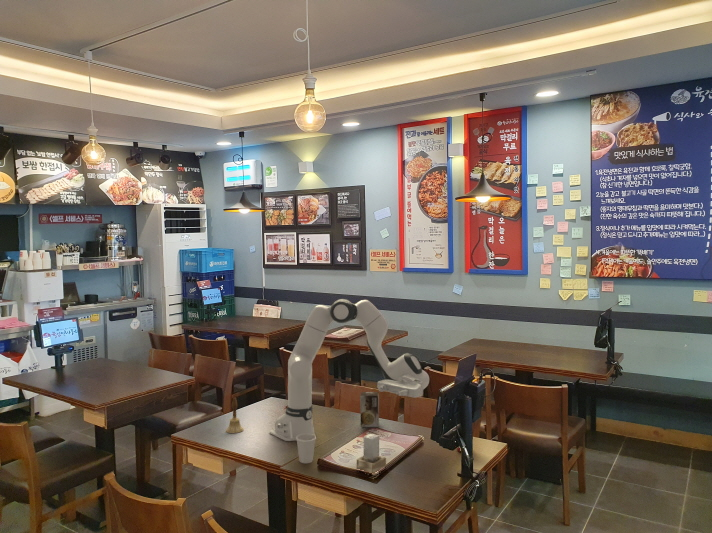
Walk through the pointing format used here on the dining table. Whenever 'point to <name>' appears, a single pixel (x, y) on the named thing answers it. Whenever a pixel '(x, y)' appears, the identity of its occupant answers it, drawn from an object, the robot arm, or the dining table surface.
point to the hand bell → (234, 420)
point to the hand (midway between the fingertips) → (389, 391)
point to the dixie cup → (306, 447)
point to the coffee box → (369, 409)
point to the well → (371, 464)
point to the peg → (371, 448)
